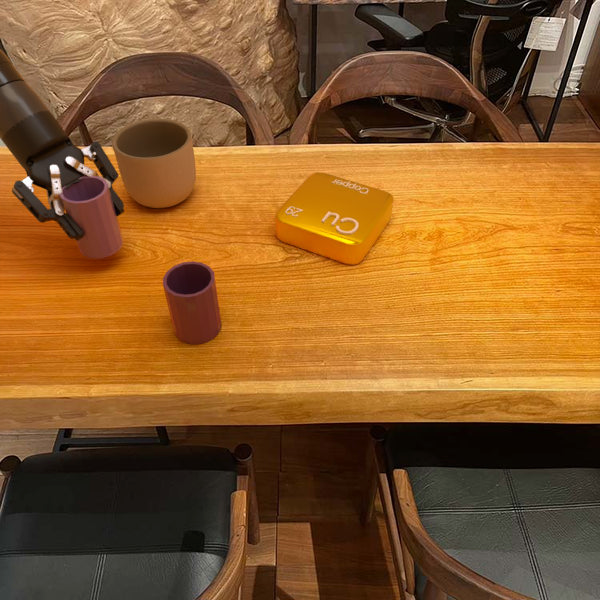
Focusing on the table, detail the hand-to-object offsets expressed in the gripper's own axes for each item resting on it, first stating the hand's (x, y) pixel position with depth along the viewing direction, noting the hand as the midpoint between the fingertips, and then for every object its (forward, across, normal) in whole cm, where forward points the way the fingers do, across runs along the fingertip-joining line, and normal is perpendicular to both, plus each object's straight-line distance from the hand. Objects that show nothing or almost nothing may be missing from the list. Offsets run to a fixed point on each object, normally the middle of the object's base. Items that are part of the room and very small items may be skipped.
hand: (101, 225), depth 84 cm
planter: (0, +17, +10) cm, 20 cm away
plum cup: (+19, -1, -9) cm, 21 cm away
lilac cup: (+2, 0, +4) cm, 5 cm away
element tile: (+20, +28, -10) cm, 36 cm away
